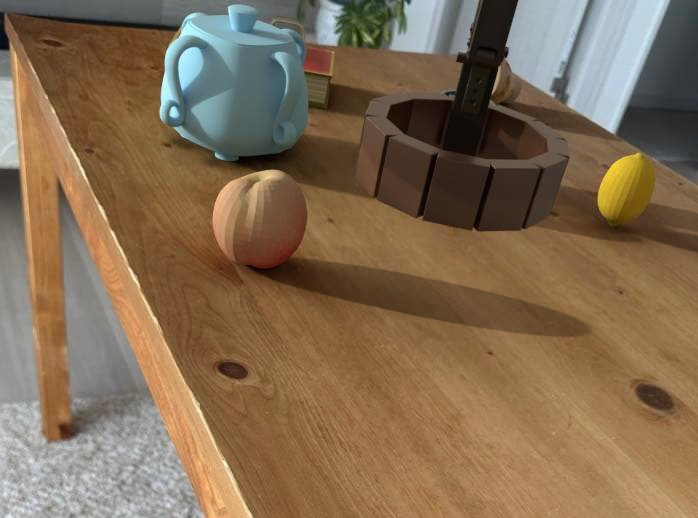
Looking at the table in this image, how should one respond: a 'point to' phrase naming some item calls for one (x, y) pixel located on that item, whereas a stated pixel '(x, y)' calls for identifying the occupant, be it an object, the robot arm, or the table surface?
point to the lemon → (626, 189)
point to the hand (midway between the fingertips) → (459, 146)
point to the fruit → (260, 219)
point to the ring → (459, 164)
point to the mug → (506, 85)
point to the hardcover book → (311, 73)
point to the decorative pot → (236, 84)
